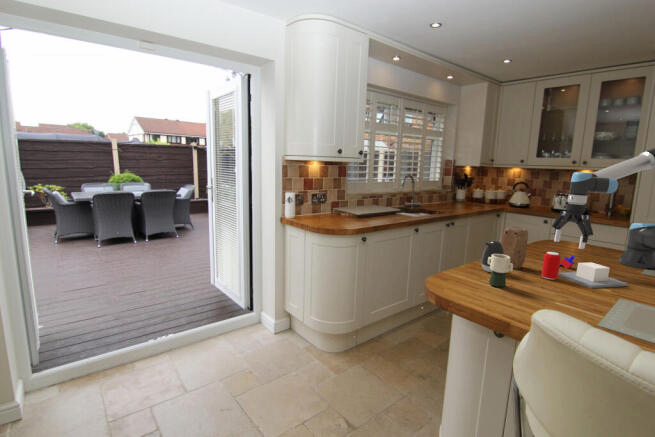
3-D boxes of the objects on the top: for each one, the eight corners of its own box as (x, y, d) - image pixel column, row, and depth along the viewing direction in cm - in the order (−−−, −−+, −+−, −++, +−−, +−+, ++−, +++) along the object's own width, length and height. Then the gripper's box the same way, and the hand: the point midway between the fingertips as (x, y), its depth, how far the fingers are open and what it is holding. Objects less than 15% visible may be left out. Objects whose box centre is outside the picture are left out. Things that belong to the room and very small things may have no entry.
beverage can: (555, 277, 152) (559, 252, 150) (558, 281, 147) (562, 255, 145) (540, 275, 155) (544, 250, 153) (542, 279, 149) (546, 253, 147)
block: (525, 268, 163) (531, 229, 160) (514, 270, 160) (520, 230, 157) (505, 262, 173) (510, 225, 170) (495, 263, 170) (500, 226, 167)
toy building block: (564, 271, 167) (574, 259, 163) (557, 265, 170) (567, 254, 166) (568, 270, 169) (578, 259, 165) (560, 264, 172) (570, 253, 168)
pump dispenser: (475, 267, 162) (479, 237, 159) (495, 268, 163) (499, 238, 160) (487, 274, 152) (491, 243, 149) (508, 275, 153) (512, 243, 150)
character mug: (514, 288, 136) (518, 258, 134) (504, 291, 132) (508, 260, 130) (490, 280, 145) (494, 251, 143) (480, 282, 142) (483, 253, 139)
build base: (590, 273, 160) (593, 259, 159) (626, 285, 144) (630, 270, 143) (557, 275, 155) (559, 260, 154) (590, 288, 140) (593, 272, 139)
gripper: (548, 200, 174) (541, 239, 178) (595, 207, 150) (586, 251, 154) (559, 200, 176) (553, 238, 179) (608, 207, 152) (599, 251, 155)
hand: (568, 245), depth 166 cm, fingers open, 13 cm apart
